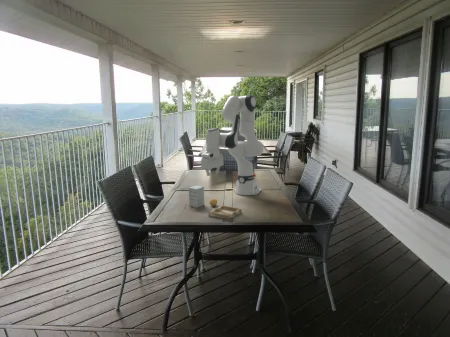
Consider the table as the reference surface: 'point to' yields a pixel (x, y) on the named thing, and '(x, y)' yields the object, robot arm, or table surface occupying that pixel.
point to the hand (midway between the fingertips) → (212, 174)
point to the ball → (213, 202)
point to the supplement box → (196, 196)
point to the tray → (225, 212)
